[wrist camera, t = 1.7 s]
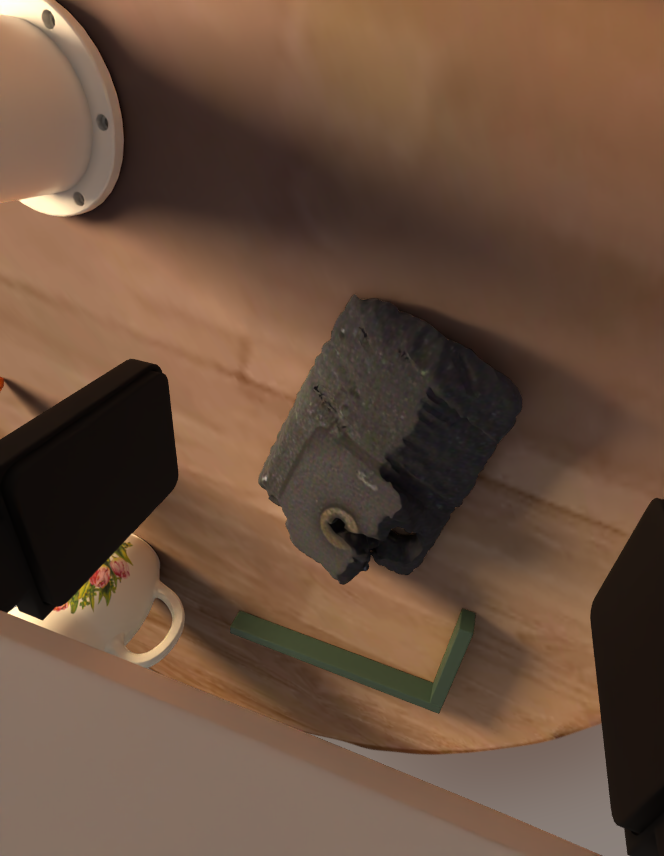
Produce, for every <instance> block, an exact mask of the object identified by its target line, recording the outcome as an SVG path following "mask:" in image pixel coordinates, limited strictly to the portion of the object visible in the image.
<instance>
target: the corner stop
mask: <svg viewBox="0 0 664 856" xmlns="http://www.w3.org/2000/svg"><path fill="white" fill-rule="evenodd" d="M475 617H476V613H474V612H471V611H468V610H466V609H462V611H461V613H460V616H459V618H458V621H457V623H456V626H455V628H454V631H453V634H452V636H451V639H450V641H449V644H448V646H447V649H446V652H445V654H444V657H443V659H442V662H441V664H440V667H439V669H438V672H437V675H436V677H435V680H434V682H433V683H432V682H429V681H426V680H424V679H421V678H418V677H416V676H413V675H410V674H408V673H405V672H402V671H400V670H397V669H394V668H392V667H389V666H386V665H384V664H381V663H378V662H376V661H373V660H370V659H368V658H365V657H362V656H360V655H357V654H354V653H352V652H349V651H346V650H344V649H341V648H338V647H336V646H333V645H330V644H328V643H325V642H322V641H320V640H317V639H314V638H312V637H309V636H306V635H304V634H301V633H298V632H296V631H293V630H290V629H288V628H285V627H282V626H280V625H277V624H274V623H272V622H269V621H266V620H264V619H261V618H258V617H256V616H253V615H250V614H248V613H245V612H242V611H239V612H238V614H237V616H236V617H235V619H234V621H233V623H232V624H231V626H230V633H232V634H234V635H237V636H239V637H242V638H245V639H247V640H250V641H252V642H255V643H258V644H260V645H263V646H265V647H268V648H270V649H273V650H276V651H278V652H281V653H283V654H286V655H288V656H291V657H294V658H296V659H299V660H301V661H304V662H307V663H309V664H312V665H314V666H317V667H319V668H322V669H325V670H327V671H330V672H332V673H335V674H338V675H340V676H343V677H345V678H348V679H350V680H353V681H356V682H358V683H361V684H363V685H366V686H369V687H371V688H374V689H376V690H379V691H381V692H384V693H387V694H389V695H392V696H394V697H397V698H399V699H402V700H405V701H407V702H410V703H412V704H415V705H418V706H420V707H423V708H425V709H428V710H430V711H433V712H436V713H438V714H439V713H440V710H441V708H442V706H443V703H444V701H445V699H446V696H447V694H448V692H449V689H450V687H451V685H452V682H453V680H454V678H455V675H456V673H457V671H458V669H459V666H460V664H461V662H462V659H463V657H464V655H465V652H466V650H467V648H468V645H469V643H470V641H471V638H472V636H473V633H474V625H475Z"/></svg>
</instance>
